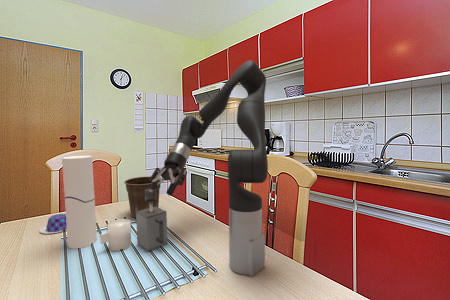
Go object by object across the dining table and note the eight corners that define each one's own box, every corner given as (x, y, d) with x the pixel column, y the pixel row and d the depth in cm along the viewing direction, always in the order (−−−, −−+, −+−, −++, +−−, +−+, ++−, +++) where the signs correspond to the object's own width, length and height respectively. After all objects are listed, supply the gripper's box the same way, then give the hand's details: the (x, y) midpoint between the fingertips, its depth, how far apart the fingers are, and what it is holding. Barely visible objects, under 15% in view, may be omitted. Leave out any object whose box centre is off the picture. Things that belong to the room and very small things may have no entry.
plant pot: (156, 220, 99) (155, 183, 98) (119, 221, 99) (117, 184, 98) (166, 208, 115) (165, 176, 114) (134, 208, 115) (133, 176, 114)
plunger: (163, 235, 78) (161, 189, 77) (148, 241, 75) (146, 192, 73) (155, 231, 82) (153, 187, 81) (141, 236, 78) (139, 190, 77)
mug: (135, 245, 78) (134, 222, 77) (105, 256, 71) (104, 231, 70) (126, 239, 82) (125, 217, 82) (98, 248, 76) (96, 225, 75)
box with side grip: (172, 246, 77) (171, 213, 76) (152, 255, 71) (151, 219, 70) (156, 237, 84) (155, 206, 83) (137, 244, 78) (136, 211, 77)
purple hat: (50, 237, 84) (49, 224, 84) (33, 231, 90) (32, 218, 89) (82, 225, 95) (82, 213, 95) (65, 220, 100) (64, 209, 100)
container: (83, 249, 75) (77, 158, 72) (61, 247, 77) (55, 158, 74) (102, 237, 83) (97, 155, 81) (82, 235, 85) (77, 155, 83)
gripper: (197, 163, 88) (180, 200, 79) (169, 163, 95) (151, 197, 86) (187, 150, 83) (168, 189, 74) (158, 151, 90) (138, 187, 81)
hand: (159, 193), depth 80 cm, fingers open, 8 cm apart
